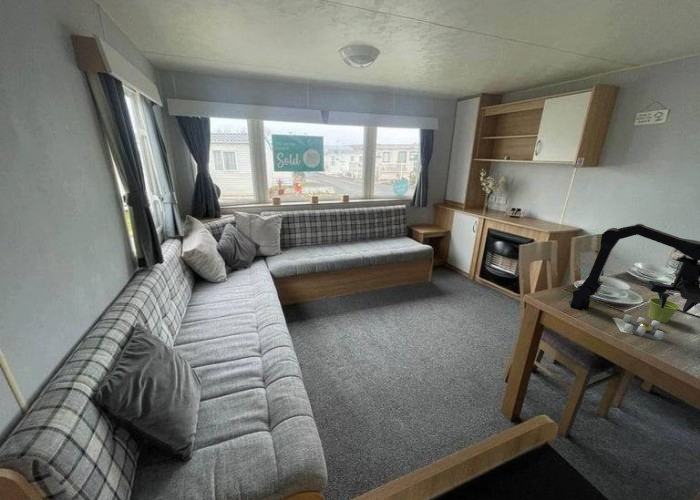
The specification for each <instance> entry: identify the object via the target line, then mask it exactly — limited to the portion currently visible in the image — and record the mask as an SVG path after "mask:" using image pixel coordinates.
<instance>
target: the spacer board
mask: <svg viewBox="0 0 700 500" xmlns="http://www.w3.org/2000/svg"><path fill="white" fill-rule="evenodd" d="M612 319H613V321H614V322H615V324H616V326H617V328H618V329H619V331H620V332H622V333H626V334H630V335H635V336H639V337H643V338H644V337H645V338H648V339H652V340H657V341H661V342H665V343H666V340H665V339H664V337H665V334H666V333H665V332H664V331H662V330H659V327H660V325H661V322H658V321H656V320H653V319H652V321H651V322H650V325H651V326H652V327H653V328H652V330H651V332H650V333H645V331H646V328H644V327H642V326H639V327H638V325H639V323H640V322H643V323H647V322H646V321H647V319H646V318H644V317H640V316H639V317H638V318H637V320H636V322H635V321H632V319H633V316H632V315H630V314H628V313H627V314H624V317H623V319H622V318H618V317H612ZM637 327H638V329H637Z"/></svg>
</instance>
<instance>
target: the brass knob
mask: <svg viewBox="0 0 700 500" xmlns="http://www.w3.org/2000/svg"><path fill="white" fill-rule="evenodd" d="M639 326H642V327H644V328H646V331H645V333H650V332H651V330H652V328H653V327H652V326H651V324H649V323H647V322H645V323H643V322H640V323H639V325H638V327H639ZM638 327H637V329H638Z"/></svg>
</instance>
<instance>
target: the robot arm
mask: <svg viewBox="0 0 700 500" xmlns="http://www.w3.org/2000/svg"><path fill="white" fill-rule="evenodd" d="M633 236H640V237H643V238H645V239H648V240H651V241H653V242H657V243H660V244H662V245H666V246H668V247H671V248H673V249H675V250H677V251H678V252H680V253H682V254H683V255H682V256H678V257H676V260H675V261H676V262H678V263H679V262H680V263H681V266H679V270H678V272H675V273H674V276H675V278H674V281H673V282H671V283H670V286H669V285H665V284H664V283H663V282H662V281H657V280H649V281H647V283H646V288H648V290H649V291H651V292H653V293H657V294H658V298H659V300H660V307H661V308H662V309H663V308H664V306H665V303H666V300H668V298H669V297H670V296H671V295H670V293H669V292H671V293H672V292H673V293H677V294H680V297H681V299H684V300H686V301H685V303H684V305H683V307H682V313H683V314H686V313H687V312H688V311H689V310H691V309H692V308H693V307H695V306H696V305H700V240H694V239H689V238H688V239H687V238H682V237H679V236H676V235H673V234H670V233H667V232H664V231H661V230H658V229H655V228H653V227H649V226H646V225H645V224H643V223H636V224H634V225H628V226H624V227H620V228H617V227H611V228H608V229H607V230H605V231H604V232H602V234H601V238H600V248H599V251H598V253H597V256H596V259H595V260H594V262H593V266H592V268H591V270H590V272H589V274H588V276H587V278H586V279H585V280H584V282H582V284H581V285H578V286H577V287H576V288H575V289H574V290H573V291H572V294H571V298H570V300H569V301H568V304H569V306H570V308H571V309H572V308H573V309H576V310H585V311H587V310H588V309H589V306H590V304H591V296H594V295H595V294H598V293H599V291H601V289H602V288H601V286H602V285H603V284H604V281H603V280H601V276H602V273H603V272H604V269H605V267H606V264H607V262H608V260H609V258H610V256H611V253H612V251H613V249H614V248H615V246H616V245H617V244H618V242H619V241H621V240H623V239H626V238H630V237H633Z"/></svg>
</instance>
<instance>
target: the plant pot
mask: <svg viewBox="0 0 700 500" xmlns="http://www.w3.org/2000/svg"><path fill="white" fill-rule="evenodd" d="M649 304H650V305H649V310H648V318H649V319H651V320H652V321H653V320H656V321H658V322H660V323H664V324H666V323H668V322H669V321H670V319H671V318H672V317H673V316H674V314H675V313H676V312H678V310H680V309H681V306H680V305H679V304H677V303H676V302H673V301H671V300H668V299H667V300H666V303H665V306H664V308H663V309H662V308H661V307H660V300H659V297H658V298H657V297H651V298H649Z"/></svg>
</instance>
